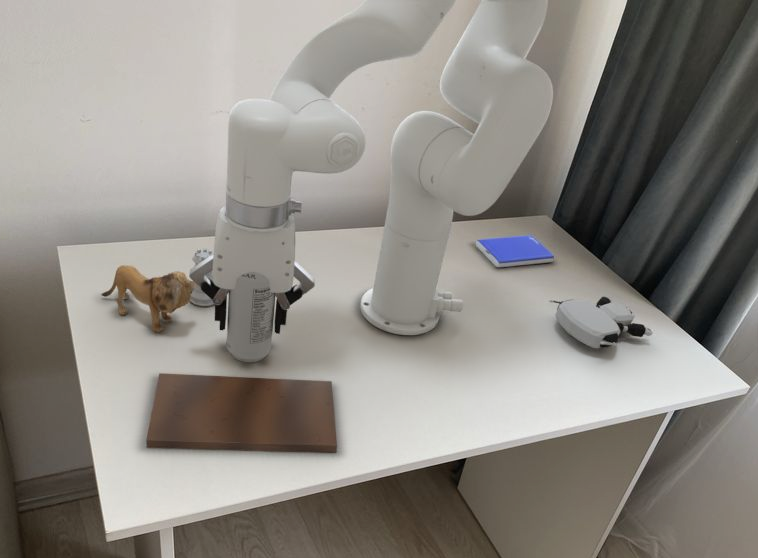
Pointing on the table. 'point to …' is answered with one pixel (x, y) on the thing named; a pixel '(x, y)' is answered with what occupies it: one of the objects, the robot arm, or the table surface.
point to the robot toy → (597, 321)
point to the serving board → (242, 414)
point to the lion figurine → (153, 292)
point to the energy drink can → (250, 318)
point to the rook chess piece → (198, 295)
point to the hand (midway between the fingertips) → (250, 325)
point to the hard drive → (514, 251)
